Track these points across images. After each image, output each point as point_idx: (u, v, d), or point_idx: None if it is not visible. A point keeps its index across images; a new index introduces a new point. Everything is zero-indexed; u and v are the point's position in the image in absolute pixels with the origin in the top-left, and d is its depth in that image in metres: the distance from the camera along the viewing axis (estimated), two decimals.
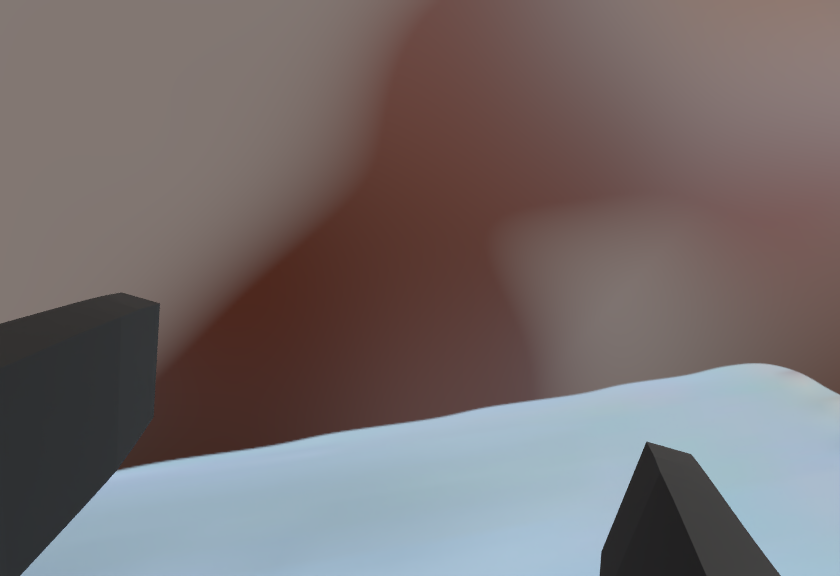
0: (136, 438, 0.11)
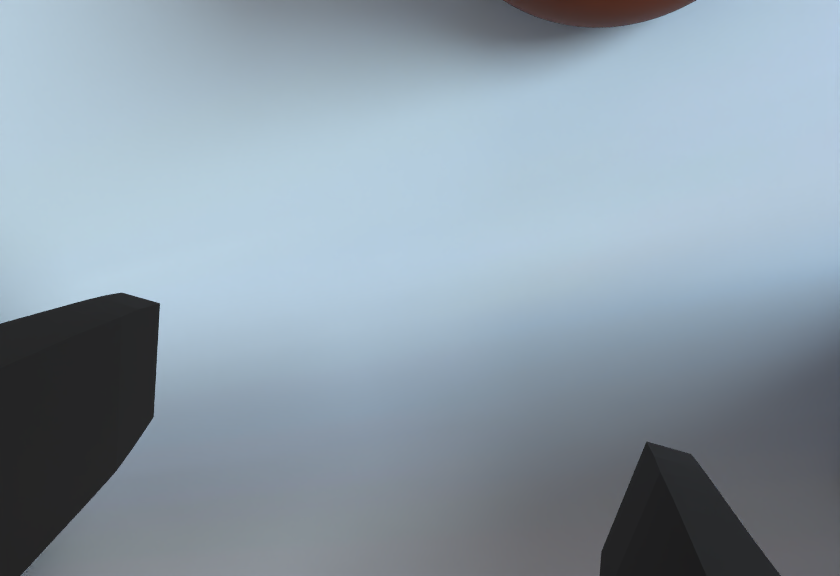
0: (136, 438, 0.11)
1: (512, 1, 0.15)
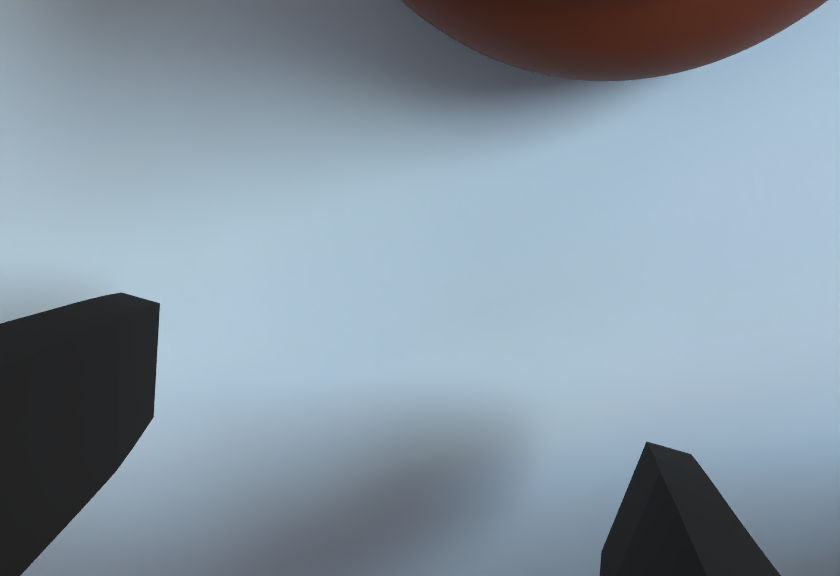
0: (136, 438, 0.11)
1: (462, 39, 0.09)
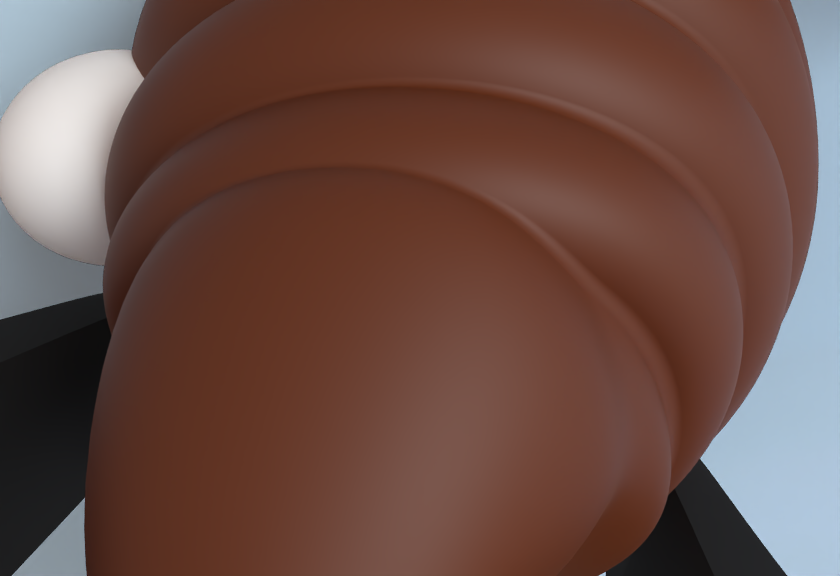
0: None
1: None
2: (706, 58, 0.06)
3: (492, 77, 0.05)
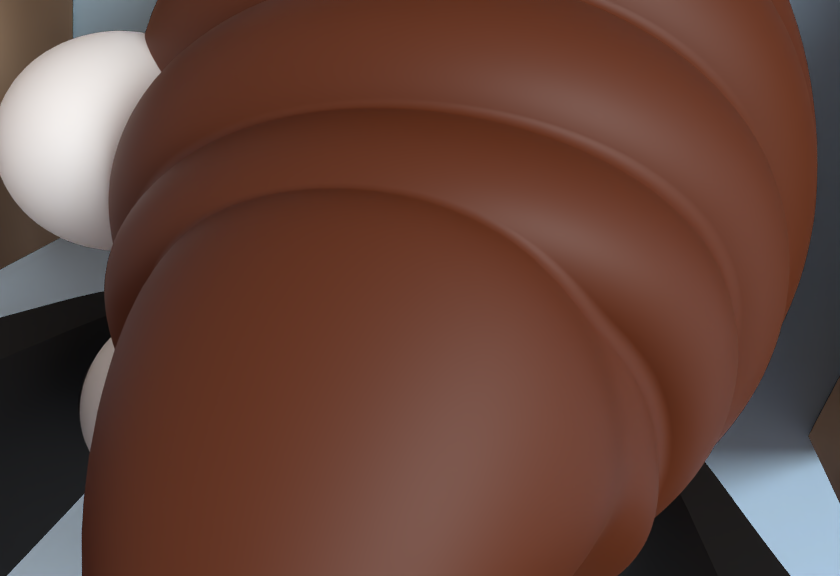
0: None
1: None
2: (726, 104, 0.06)
3: (520, 109, 0.05)
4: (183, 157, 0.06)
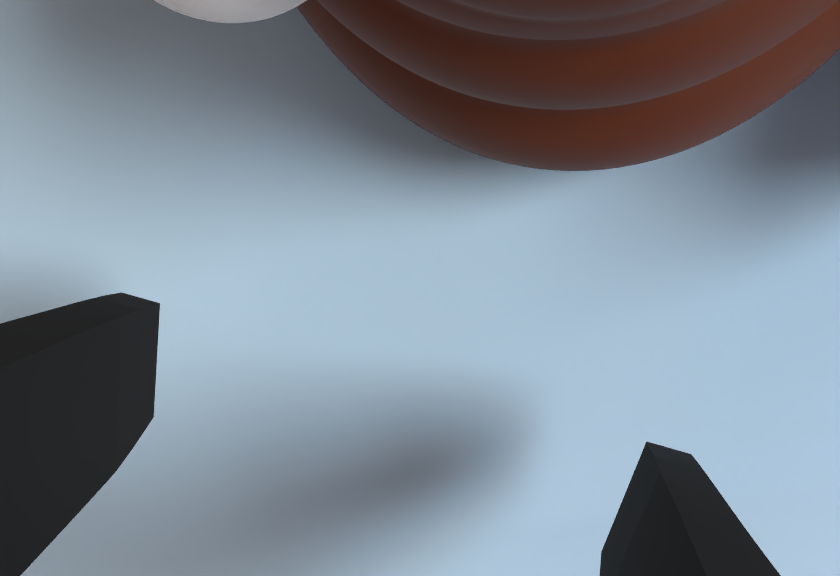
0: (136, 438, 0.11)
1: (407, 118, 0.10)
2: None
3: None
4: None
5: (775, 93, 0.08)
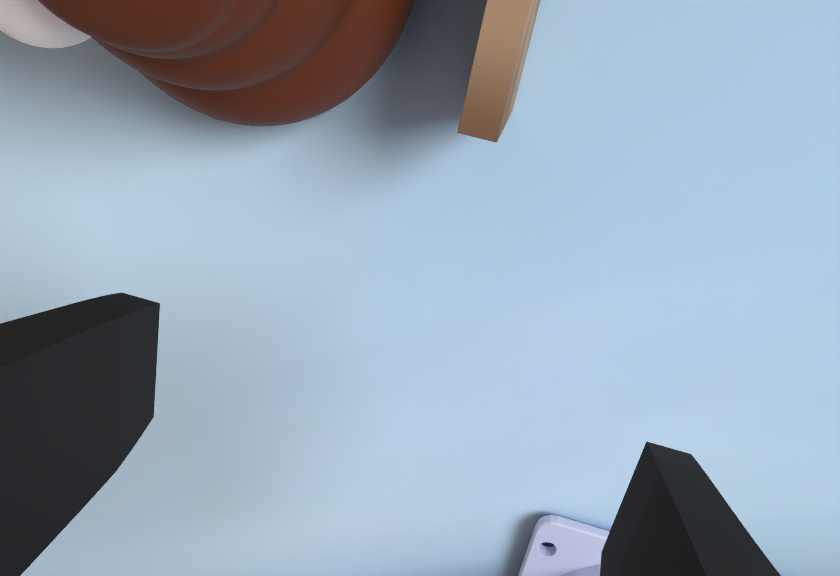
0: (136, 438, 0.11)
1: (171, 96, 0.18)
2: None
3: None
4: None
5: (340, 83, 0.16)
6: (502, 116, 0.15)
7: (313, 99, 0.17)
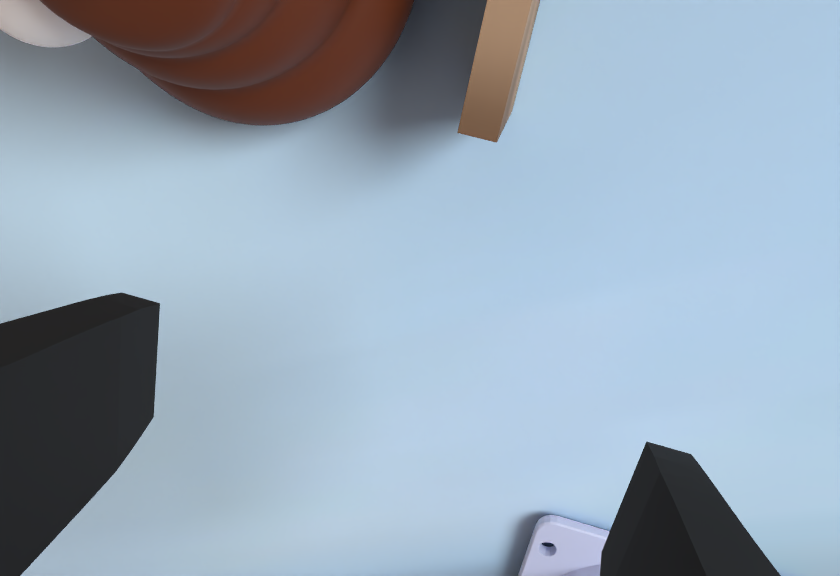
0: (136, 438, 0.11)
1: None
2: None
3: None
4: None
5: (341, 82, 0.16)
6: (502, 116, 0.15)
7: (314, 98, 0.17)
